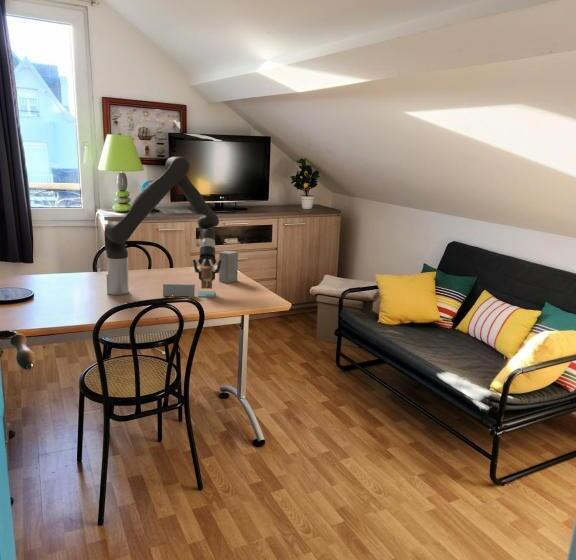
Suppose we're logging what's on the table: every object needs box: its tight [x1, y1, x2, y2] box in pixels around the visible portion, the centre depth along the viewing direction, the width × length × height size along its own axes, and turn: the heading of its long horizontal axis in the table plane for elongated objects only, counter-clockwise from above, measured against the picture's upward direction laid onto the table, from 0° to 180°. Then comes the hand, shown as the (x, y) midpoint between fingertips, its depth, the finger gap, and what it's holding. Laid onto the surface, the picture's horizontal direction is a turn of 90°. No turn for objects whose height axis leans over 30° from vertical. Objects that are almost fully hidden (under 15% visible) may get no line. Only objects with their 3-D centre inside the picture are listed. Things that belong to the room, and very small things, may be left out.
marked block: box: [200, 265, 213, 290], centre depth 249 cm, size 5×5×10 cm
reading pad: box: [197, 290, 216, 298], centre depth 251 cm, size 8×8×1 cm
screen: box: [162, 283, 196, 298], centre depth 245 cm, size 14×1×6 cm, turn 98°
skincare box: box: [218, 250, 239, 284], centre depth 274 cm, size 8×7×16 cm
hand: (206, 279), depth 247 cm, fingers closed on marked block, 5 cm apart
